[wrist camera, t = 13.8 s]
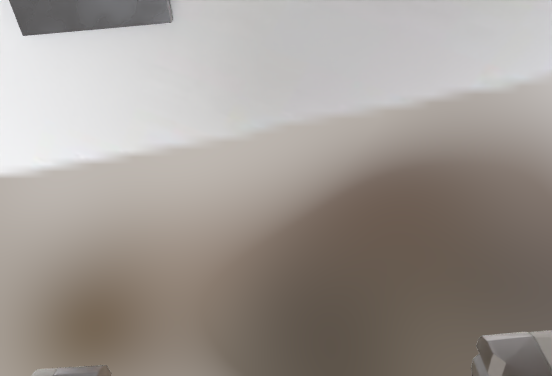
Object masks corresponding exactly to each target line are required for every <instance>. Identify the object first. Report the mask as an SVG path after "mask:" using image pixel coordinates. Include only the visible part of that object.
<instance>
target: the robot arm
mask: <svg viewBox="0 0 552 376" xmlns="http://www.w3.org/2000/svg"><path fill="white" fill-rule="evenodd" d="M476 347H477V349H478V352H479V354H478V355H477V356H476V357H475V358H473V361H472V367H471V373H472V376H552V331H549V330H547V331H537V332H518V333H508V334H496V335H486V336H481V337H480V338H479V339H478V342H477V345H476ZM31 376H111V372H110V370H109V368H108V366H107V365H100V366H85V367H69V368H52V369H38V370H36V371H35V372H34V373H33V374H32V375H31Z"/></svg>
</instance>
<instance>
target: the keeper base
mask: <svg viewBox="0 0 552 376" xmlns="http://www.w3.org/2000/svg"><path fill="white" fill-rule="evenodd" d="M9 1H10V4H11V6H12V9H13V11H14V14H15V17H16V19H17V22H18V24H19V27H20V29H21V32H22V35H23V36H27V35H38V34H49V33H60V32H72V31H83V30H94V29H105V28H116V27H127V26H138V25H149V24H160V23H171V22H172V20H173V17H172V12H171V7H170V2H169V0H9Z"/></svg>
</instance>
